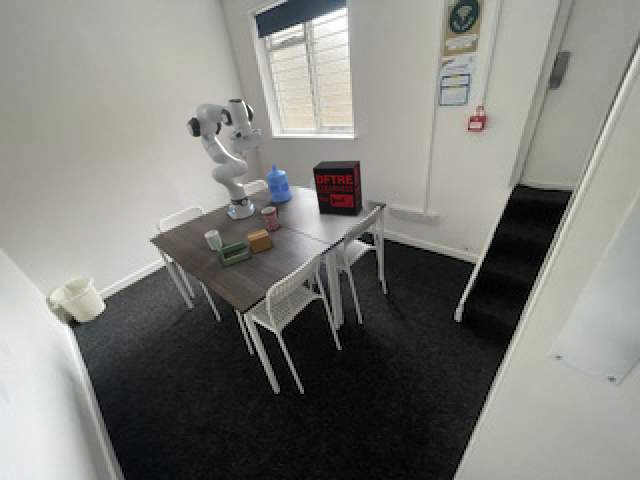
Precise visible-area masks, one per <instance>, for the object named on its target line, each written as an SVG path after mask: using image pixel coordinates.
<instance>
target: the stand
mask: <svg viewBox="0 0 640 480" xmlns="http://www.w3.org/2000/svg"><path fill="white" fill-rule="evenodd" d="M216 245H217V250H216V251H217V253H218V256H219V258H220V261H221V263H222V265H223V267H224V268H225V267H227V266H230V265H233V264H236V263H240V262H242V261H245V260H247V259H250V255H249V252H248V251H246V252H243V253H239V254H237V255H234V256H230V257H227V258H225V255H226V254H229V253H233V252H235V251H237V250H240V249H243V248H246V245H245V242H244V241H240V242H237V243H234V244H231V245H228V246H225V247H221V246H220V244H219V241H218V239H217V240H216Z"/></svg>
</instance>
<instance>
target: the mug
mask: <svg viewBox="0 0 640 480" xmlns="http://www.w3.org/2000/svg"><path fill="white" fill-rule="evenodd" d="M261 214H262V217H263V219H264V222H265V225H266V228H267V230H268V231H270V232H274V231H277V230H278V229H279V228H280V227H279V214H280V213H279V209H278V207H275V206H268V207H264V208H263V209H262V210H261Z"/></svg>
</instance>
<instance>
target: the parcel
mask: <svg viewBox="0 0 640 480" xmlns="http://www.w3.org/2000/svg"><path fill="white" fill-rule="evenodd" d="M246 237H247V239H248V243H249V245H250V248H251V251H252V253H253V254H256V253H257V254H258V253H260V252H263V251H265V250H269V249H272V248H273V246H272V243H271V238H270V235H269V233H268V232H267V230H266V228H262V229H259V230H257V231H253V232H250V233H247V234H246Z"/></svg>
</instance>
